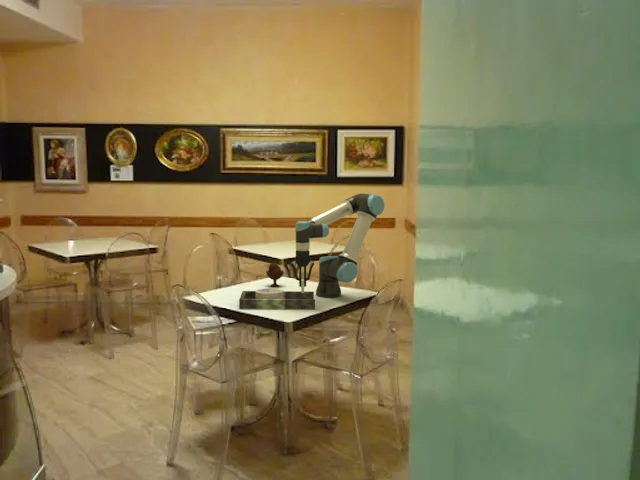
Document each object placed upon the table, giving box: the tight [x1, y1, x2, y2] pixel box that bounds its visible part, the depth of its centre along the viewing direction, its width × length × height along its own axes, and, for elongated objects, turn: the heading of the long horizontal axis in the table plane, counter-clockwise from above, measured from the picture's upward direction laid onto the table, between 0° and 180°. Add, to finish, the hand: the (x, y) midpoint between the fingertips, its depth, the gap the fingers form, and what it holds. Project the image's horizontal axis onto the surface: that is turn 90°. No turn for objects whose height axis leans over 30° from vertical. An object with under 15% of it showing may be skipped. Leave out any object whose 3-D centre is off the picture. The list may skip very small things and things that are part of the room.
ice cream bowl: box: [265, 262, 285, 288], centre depth 363 cm, size 11×11×15 cm
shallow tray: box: [238, 290, 316, 310], centre depth 314 cm, size 40×22×5 cm, turn 93°
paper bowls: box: [255, 287, 284, 299], centre depth 313 cm, size 15×15×8 cm
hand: (302, 292), depth 314 cm, fingers closed
